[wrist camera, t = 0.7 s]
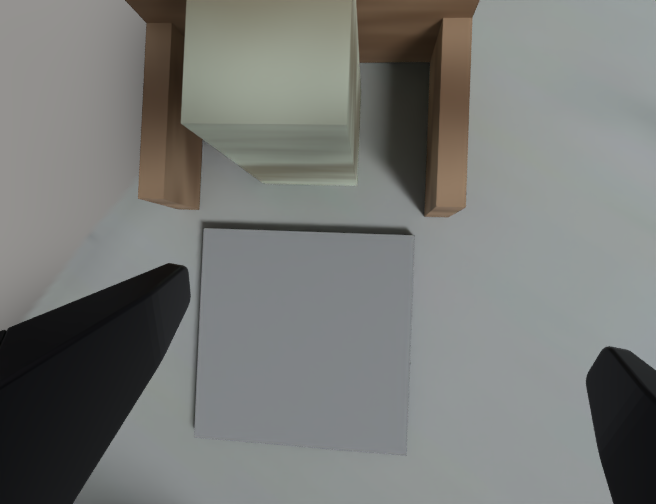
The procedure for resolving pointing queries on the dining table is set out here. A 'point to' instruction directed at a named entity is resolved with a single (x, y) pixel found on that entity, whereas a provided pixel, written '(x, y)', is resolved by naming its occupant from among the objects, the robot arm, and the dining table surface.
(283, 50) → the sage block
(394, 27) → the walnut u-shaped frame
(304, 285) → the slate mat
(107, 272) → the dining table surface
